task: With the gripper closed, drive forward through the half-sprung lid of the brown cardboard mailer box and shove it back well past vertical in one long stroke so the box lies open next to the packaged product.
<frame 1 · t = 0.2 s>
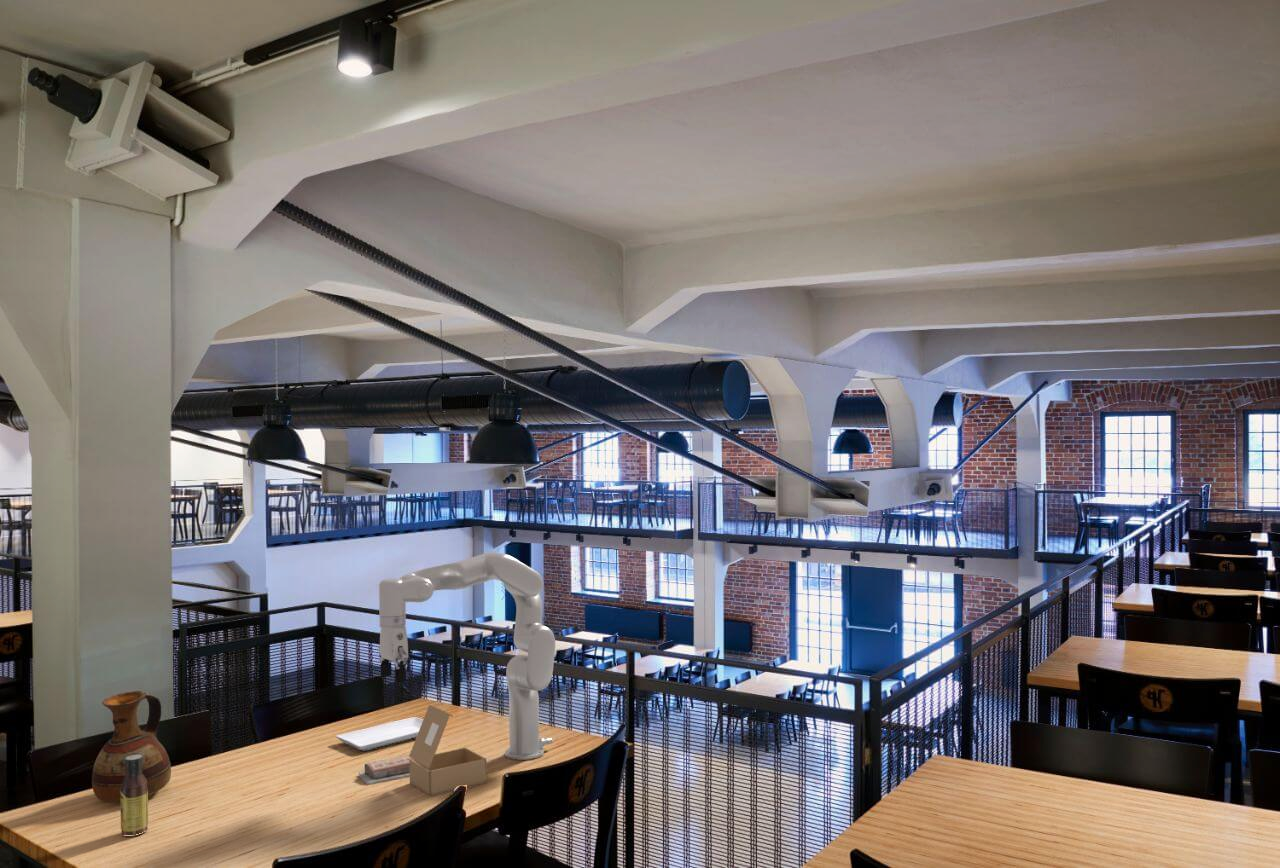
hand: (393, 679, 275), 31 cm above the table, tool pointing down, fingers open, 9 cm apart
mailer box: (448, 782, 275), on the table
lid: (431, 736, 273), point 15 cm above the table, hinge at 65.0°
ceramic pitcher: (132, 796, 268), on the table
tray: (389, 740, 319), on the table
sauce bottle: (134, 834, 241), on the table
packaged product: (392, 776, 284), on the table
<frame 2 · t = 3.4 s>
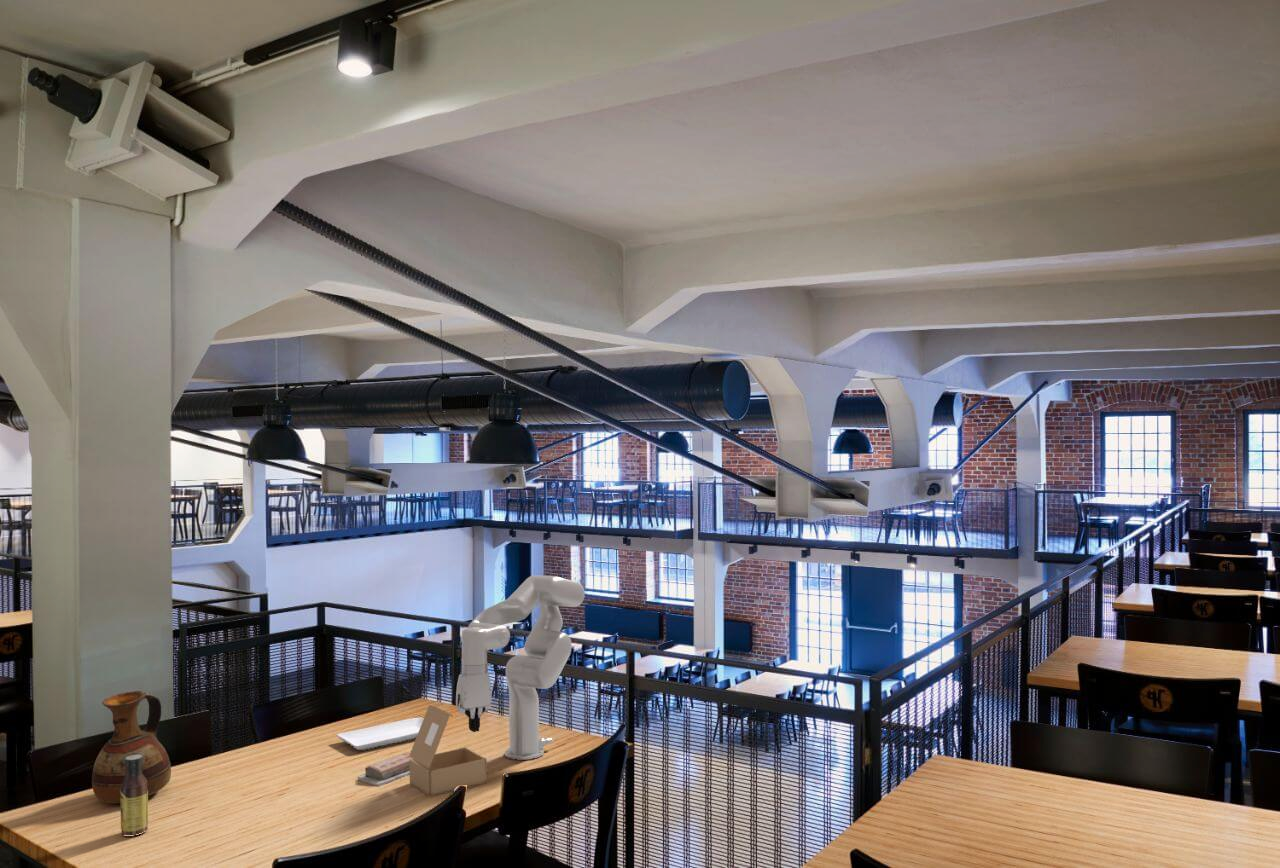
hand: (474, 730, 281), 14 cm above the table, tool pointing down, fingers closed
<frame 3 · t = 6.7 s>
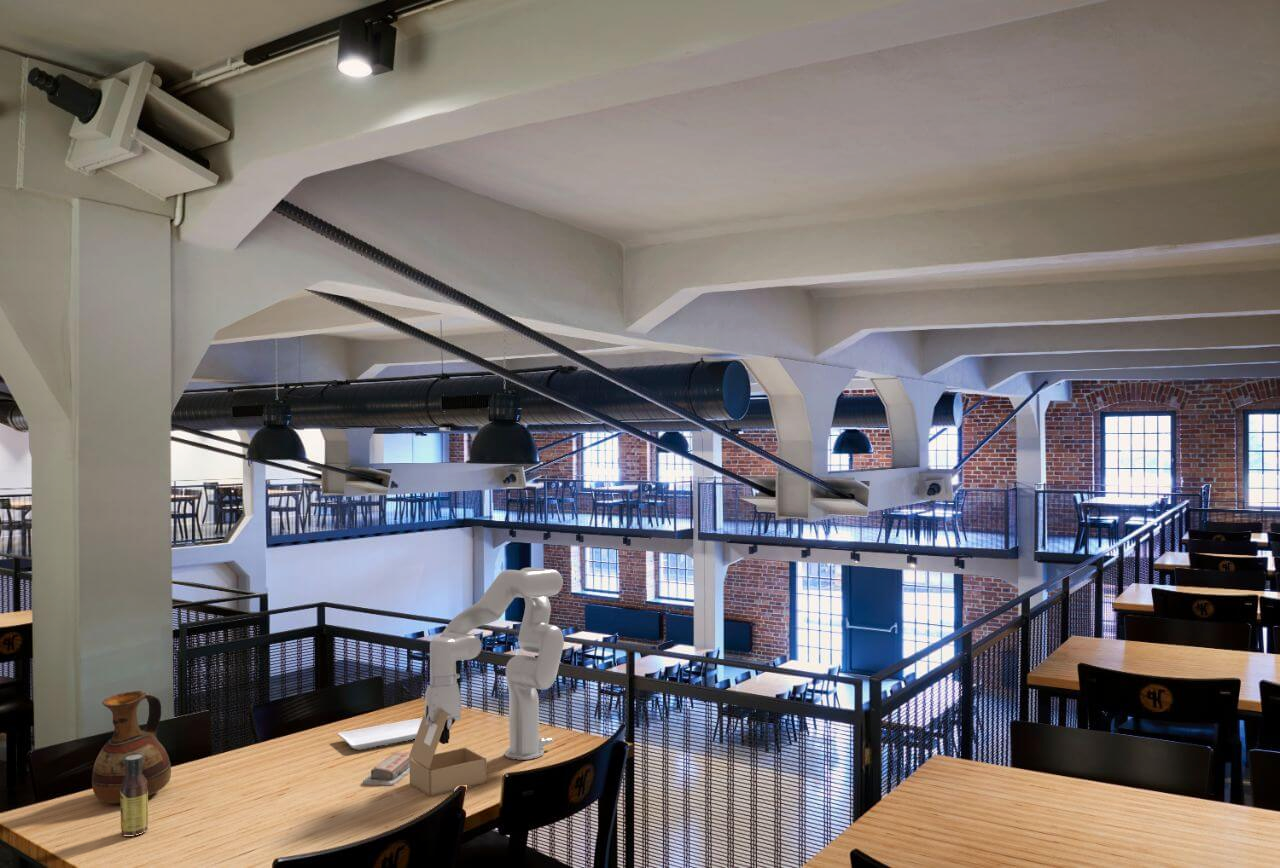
hand: (443, 742, 275), 12 cm above the table, tool pointing down, fingers closed
lid: (430, 735, 272), point 15 cm above the table, hinge at 67.3°, touching gripper
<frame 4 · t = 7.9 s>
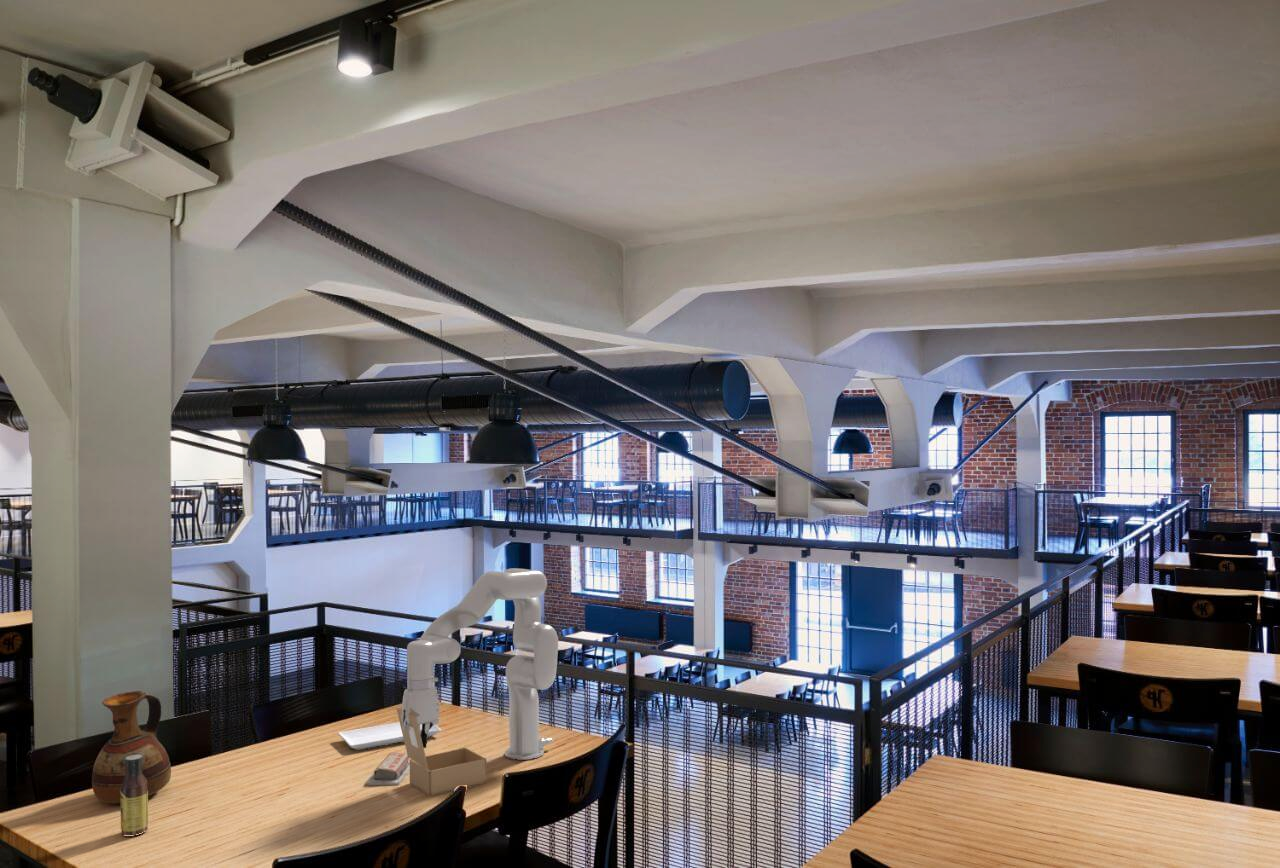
hand: (421, 747, 271), 12 cm above the table, tool pointing down, fingers closed
lid: (414, 736, 269), point 16 cm above the table, hinge at 103.2°, touching gripper
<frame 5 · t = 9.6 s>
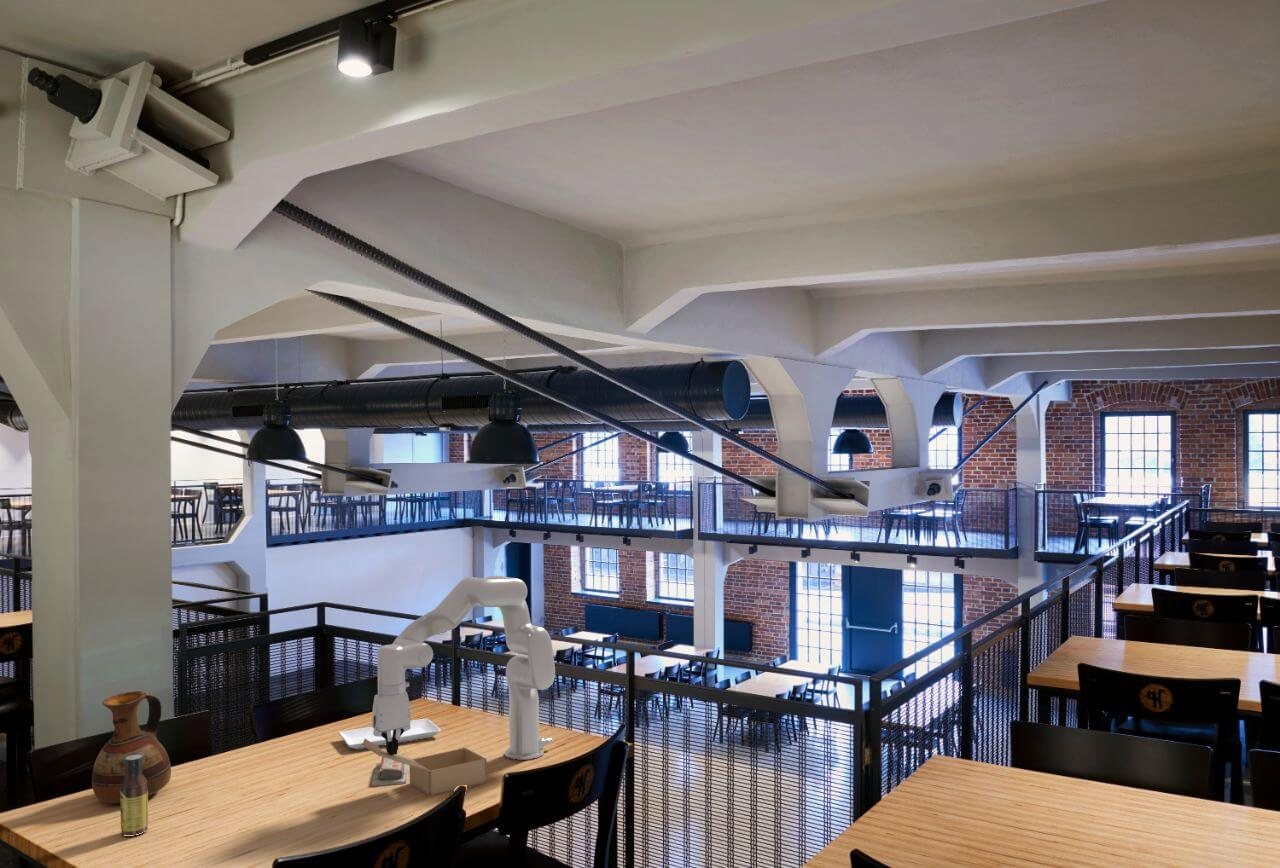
hand: (392, 753, 265), 12 cm above the table, tool pointing down, fingers closed
lid: (394, 754, 266), point 12 cm above the table, hinge at 153.5°
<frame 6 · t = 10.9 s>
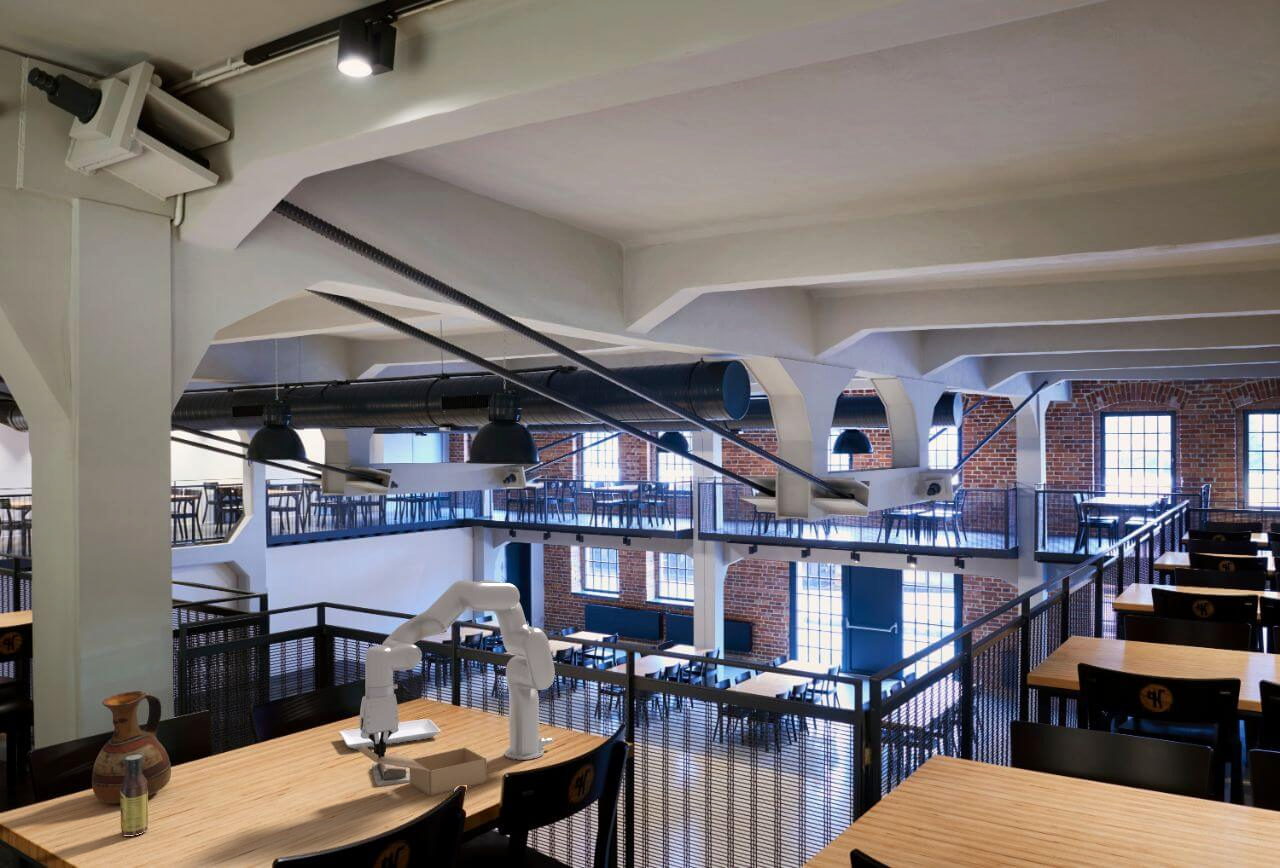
hand: (379, 755, 263), 12 cm above the table, tool pointing down, fingers closed
lid: (393, 757, 265), point 11 cm above the table, hinge at 160.4°, touching gripper
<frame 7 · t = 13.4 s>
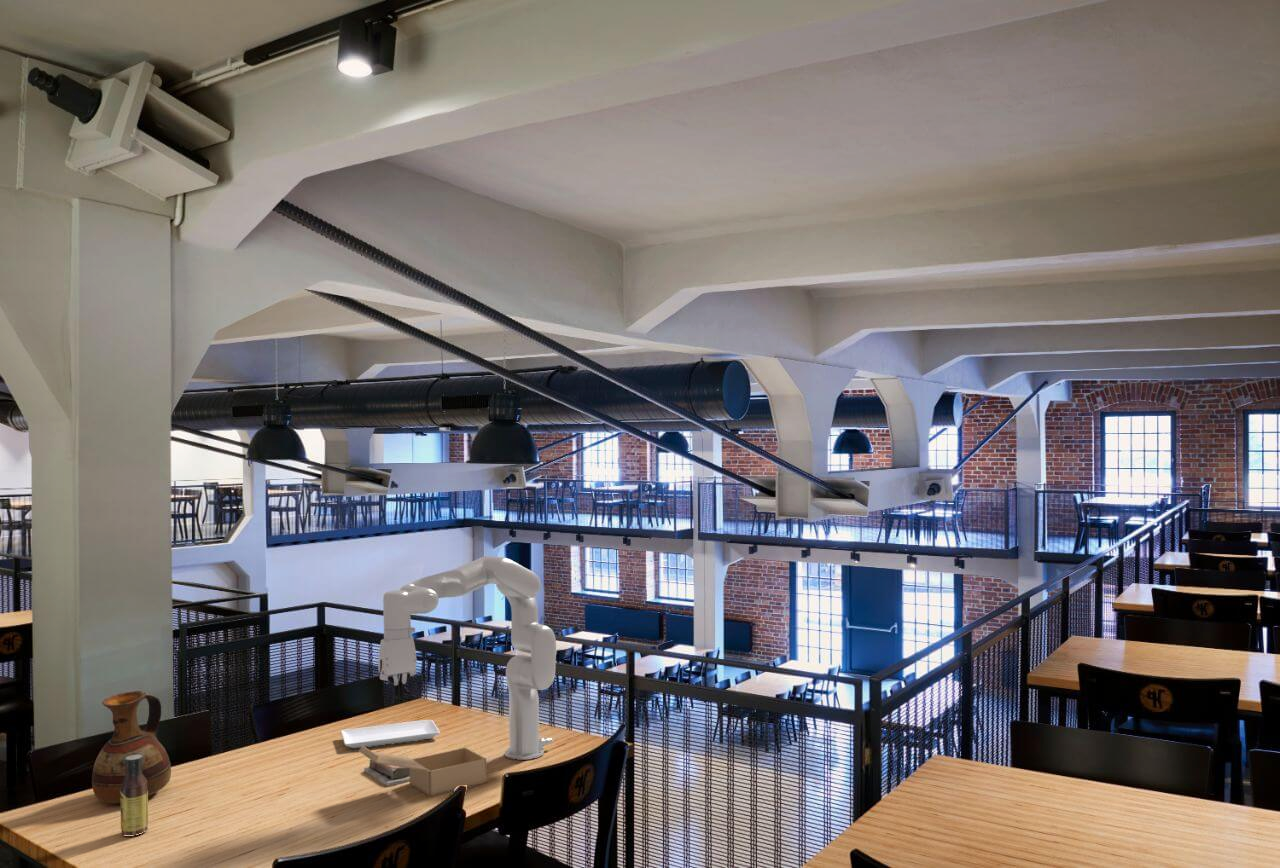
hand: (398, 697, 268), 27 cm above the table, tool pointing down, fingers closed
lid: (393, 757, 265), point 11 cm above the table, hinge at 160.8°
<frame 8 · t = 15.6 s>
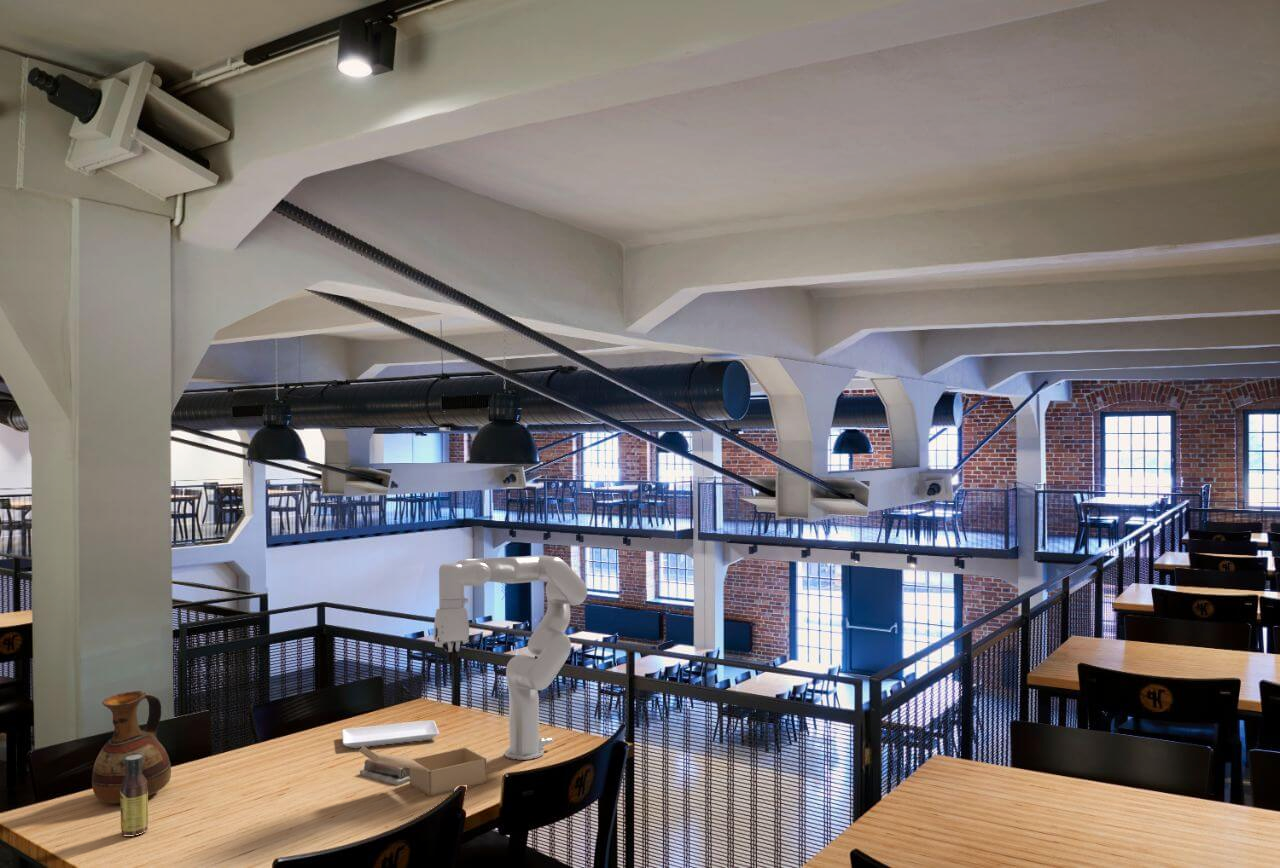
hand: (452, 664, 285), 33 cm above the table, tool pointing down, fingers closed
at the end: lid at +161° (first picture: +65°) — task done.
